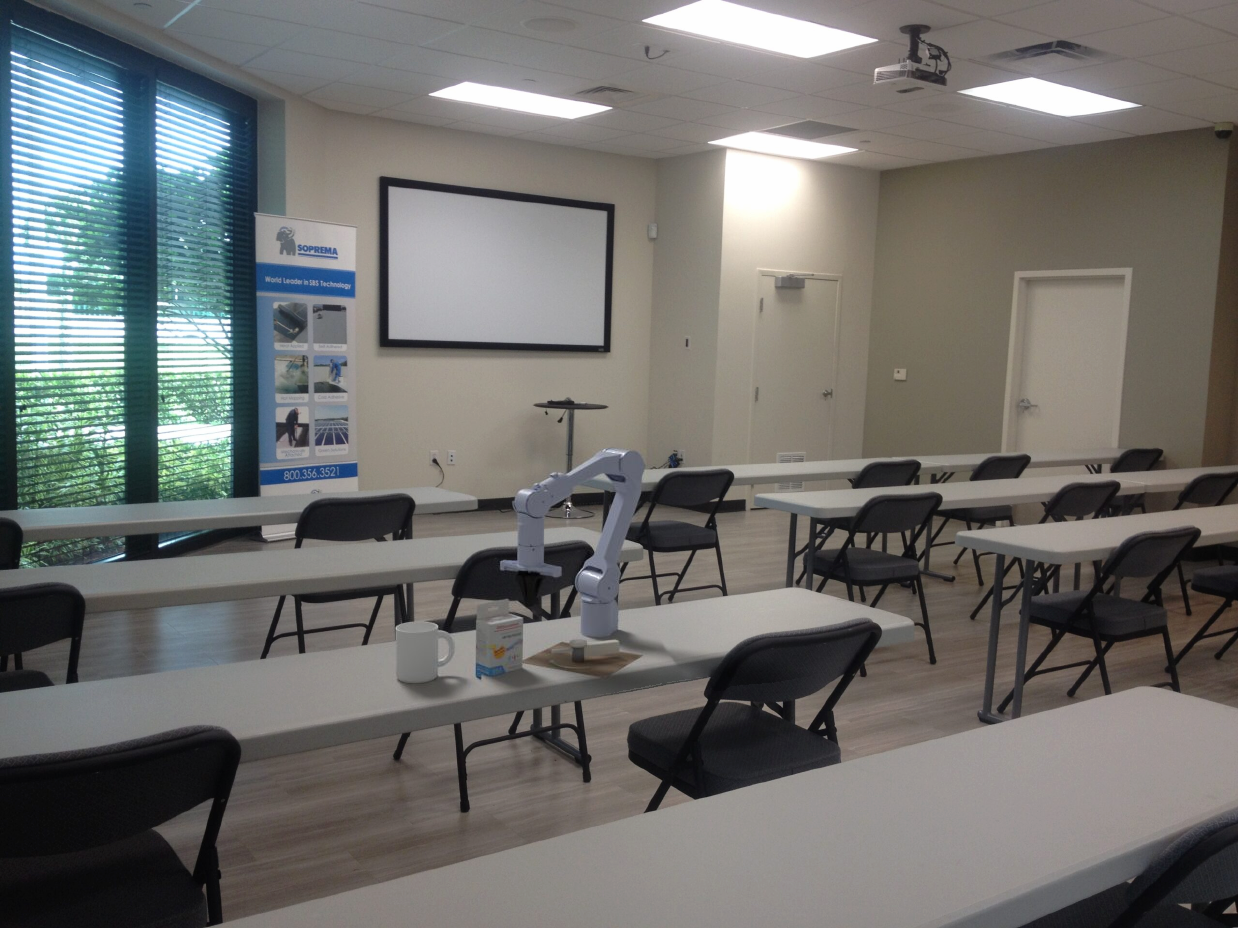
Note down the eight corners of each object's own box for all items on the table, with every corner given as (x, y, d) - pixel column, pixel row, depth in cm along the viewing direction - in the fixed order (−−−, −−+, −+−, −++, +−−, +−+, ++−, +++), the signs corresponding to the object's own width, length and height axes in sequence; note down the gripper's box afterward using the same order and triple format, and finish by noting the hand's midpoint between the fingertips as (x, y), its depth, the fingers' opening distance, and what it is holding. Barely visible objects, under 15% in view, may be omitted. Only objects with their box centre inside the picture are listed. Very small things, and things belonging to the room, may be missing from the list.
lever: (555, 665, 202) (555, 646, 201) (548, 660, 205) (549, 641, 204) (620, 658, 208) (621, 639, 207) (613, 653, 211) (614, 635, 211)
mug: (448, 666, 204) (448, 617, 203) (461, 678, 196) (461, 627, 195) (390, 674, 198) (390, 623, 197) (402, 686, 191) (402, 634, 190)
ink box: (490, 682, 194) (490, 609, 193) (474, 676, 198) (475, 604, 196) (523, 673, 200) (524, 602, 199) (508, 667, 204) (508, 597, 202)
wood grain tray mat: (561, 647, 220) (561, 640, 219) (643, 660, 211) (643, 654, 210) (519, 667, 204) (519, 661, 204) (605, 683, 195) (605, 676, 195)
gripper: (492, 543, 214) (491, 605, 216) (550, 550, 208) (549, 613, 209) (510, 538, 220) (509, 598, 222) (566, 545, 214) (565, 606, 215)
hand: (530, 605), depth 216 cm, fingers closed
